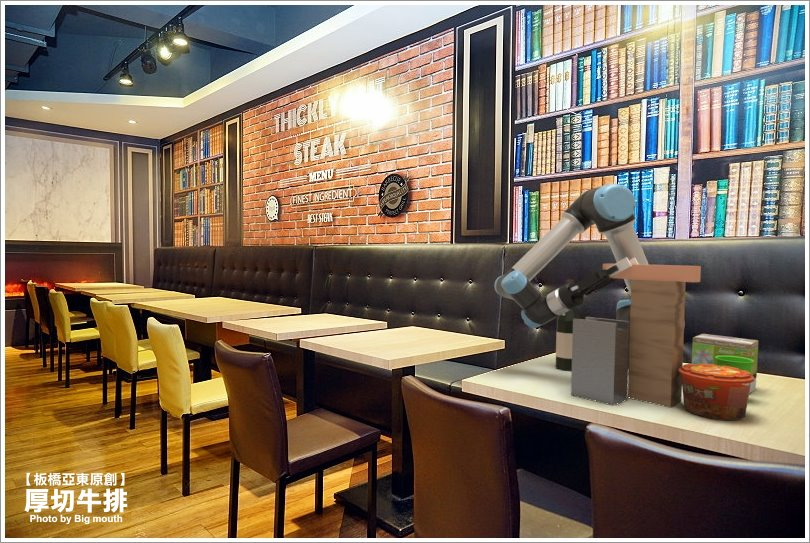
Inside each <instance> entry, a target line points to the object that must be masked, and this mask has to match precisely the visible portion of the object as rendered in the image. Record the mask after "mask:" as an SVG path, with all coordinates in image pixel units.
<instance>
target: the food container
mask: <svg viewBox="0 0 810 543" xmlns="http://www.w3.org/2000/svg"><path fill="white" fill-rule="evenodd" d="M678 372H679V373H681V379H682V397H683V398H682V400H683V408H684V410H685V411H687V412H688V413H691V414H693V415H697V416H699V417H703V418H707V419H714V420H720V421H739V420H742V419H744V418H746V413H747V407H748V402H749V401H748V400H749V396H750V394H749V391H750V386H751V382H754V377H753V376H752V375H751V374H750V372H748V371H746V370H739V369H738V368H734V367H729V366H717V365H715V364H697V365H695V364H691V363H686V364H683V366H682V367H681V368H679V370H678Z"/></svg>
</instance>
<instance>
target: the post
mask: <svg viewBox="0 0 810 543" xmlns="http://www.w3.org/2000/svg"><path fill="white" fill-rule="evenodd" d="M686 283H687V282H679V281H659V280H638V279H631V295H630V300H631V308H630V340H629V368H628V384H627V398H628V397H630V398H629V399H631V398H634V399H633V400H635V399H638V400H637V401H640V400H642V401H641V402H644V401H647V402H646V403H649V402H651V403H650V404H653V403H655V404H654V405H658V404H660V405H659V406H662V405H664V406H663V407H666V406H668V407H667V408H673V407H674V405H675V406H676V404H677V405H679V404H681V403H682V397H683V389H682V379H681V373H679V372H678V370H679V368H681V367H682V366H683V365H684V364H683V363H684V362H683V361H684V335H685V334H684V333H685V327H684V320H685V307H686ZM678 403H679V404H678Z"/></svg>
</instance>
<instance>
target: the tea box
mask: <svg viewBox="0 0 810 543" xmlns="http://www.w3.org/2000/svg"><path fill="white" fill-rule="evenodd" d="M691 344H692V346H691V348H692V350H691V363H690V364H695V365H697V364H715V365H717V360H716V358H715V356H719V355H727V356H738V357H745V358H749V359H752V360H754V363H753V364H752V369H751V373H750V374H751V375H752V376H753V377H754V382H751V386H750V391H749V393H750V392H751V393H752V392H753V391H755V389H756V387H757V375H758V373H757V372H758V355H759V340H757V339H748V338H742V337H740V338H739V337H733V336H727V335H726V336H724V335H717V334H707V333H701V334H698V335H696V336H694V337H692V343H691ZM751 393H750V394H751Z"/></svg>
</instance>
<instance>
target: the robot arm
mask: <svg viewBox="0 0 810 543" xmlns="http://www.w3.org/2000/svg"><path fill="white" fill-rule="evenodd" d="M636 203H637V202H636V198H635V196H634V194H633V192H632V191H631V190H630V189H629V188H628V187H626V186H625V185H622V184H618V183H612V184H611V183H610V184H604V185H602V186H598V187H594V188H591V189H588V190H586V191H584V192H583V193H582V194H580V195H579V196H578V197H577V198H575V200H574V201H573V202H572V203H571V204H570V205H569V206H568V207H567V208H566V209H565V210H564V211H563V212H562V213H561V219H560V220H559V221H558V222H556V223H555V224H554V226H552V228H550V229H549V230H548V231H547V232H546V233H545V235H543V237H541V238H540V239H539V240H538V241H537V242H536V243H535V244H534V245H533V246H532V248H530V249H529V250H528V251H527V252H526V253H525V254H524V255H523V256H522V257H521V258H520V259H519V260H518V261H517V262H516V263H515V264H514V265H513V266H512V267H511V268H509V270H508V271H507V272H506V273H505V274H503V275H500V276H498V277H497V278H496V279H495V281H494V284H493V286H494V291H495V292H496V294H498V295H499V296H500V297H501V298H506V299H509V300H510V299H511V300H513V301H514V302H515V303H516V304H517V305H518V306H520V308H521V309H522V310H521V313H520V314H521V319H522V320H523V323H524V324H525V325H526V326H528V328H531V329H537V328H539V327H541V326H544V325H546V324H548V323H549V322H551V321H553V320H555V319H557V318H558V316H561V315H563V316H565V312H568V311H570V310H571V309H574V308H575V309H576V308H577V307H580V306H583V304H584V300H585V299H584V298H585V297H584V296H586V297H588V296H589V295H592V294H593V293H598V292H599V291H600V290H602V289H603V288H605V287H608V286H609V285H610V284H612V283H615V282H616V281H618V280H619V279H618V278H609V276H610V277H613V276H615V275H617V274H618V273H620V272H622V271H624V270H626V269H628V268H629V267H631V266H632V265H631V264H643V265H650V264H649V262H648V259H647V257H646V255H645V252H644V249H643V247H642V245H641V242H640V240H639V238H638V235H637V232H636V230H635V228H634V224H635V222H636V216H635V214H634V212H635V208H636ZM594 225H595V227H596V229H597V231H598V233H599V234H601V235H604V236H605V237H606V239H607V240H606V241H607V242H608V244H609V247H610V250H611V252H612V254H613V256H614V259H615V262H616V263H612V264H613V265H612V266H610V267H608V268H606V270H605V269H603V268H602V270H596V271H594V272H593V273H591V274H589V275H588V276H586V277H584V278H583V279H581V280H578V282H575V284H574V283H567V284H565V283H564V285H562V286H560V287H559V288H556V289H554V290H553V291H551V292H549V293H548V294H546V295H543V294H542V293H541V292H540V291H539V290H538V289H537V288H536V287H535V286H534V285H533V283H531V281H532V280H533V279H534V278H535V277H536V276H537V275H538V274H539V273H540V272H541V271H542V270H543V269H544V268H545V267H546V266H547V265H548V264H549V263H550V262H551V261H552V260H553V259H554V258H555V257H556V256H557V255H558V254H559V253H560V252H561V251H562V250H563V249H565V247H566V246H567V245H569V243H570V242H571V241H572V240H573V239H575V238H576V236H577V235H579V234H584V232H585V231H586V230H588V229H589V228H590V227H592V226H594ZM623 280H624V283H625V285H626V288H627V290H628V292H629V295H630V296H631V279H623ZM630 308H631V299H622V300H619V301H617V303H616V309H615V312H616V315H615V316H616V318H615V320H621V321H629V340H630ZM685 326H686V324H685V319H684V328H685ZM628 369H629V352H628Z"/></svg>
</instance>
